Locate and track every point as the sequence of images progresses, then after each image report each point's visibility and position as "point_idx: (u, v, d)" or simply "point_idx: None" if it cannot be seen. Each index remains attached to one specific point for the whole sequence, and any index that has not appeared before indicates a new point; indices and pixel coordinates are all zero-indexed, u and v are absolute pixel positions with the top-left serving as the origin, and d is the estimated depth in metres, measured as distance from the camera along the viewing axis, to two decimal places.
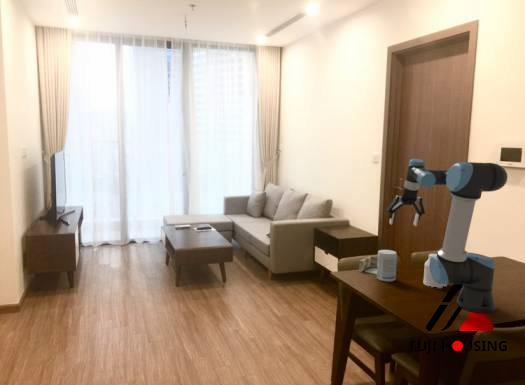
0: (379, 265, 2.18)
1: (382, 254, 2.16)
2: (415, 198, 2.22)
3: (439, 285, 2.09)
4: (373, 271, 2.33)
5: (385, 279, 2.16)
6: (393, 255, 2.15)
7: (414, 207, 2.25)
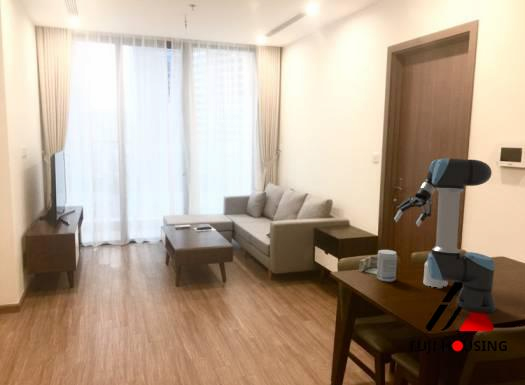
0: (379, 265, 2.18)
1: (382, 254, 2.16)
2: (424, 199, 2.26)
3: (439, 285, 2.09)
4: (373, 271, 2.33)
5: (385, 279, 2.16)
6: (393, 255, 2.15)
7: (422, 209, 2.24)
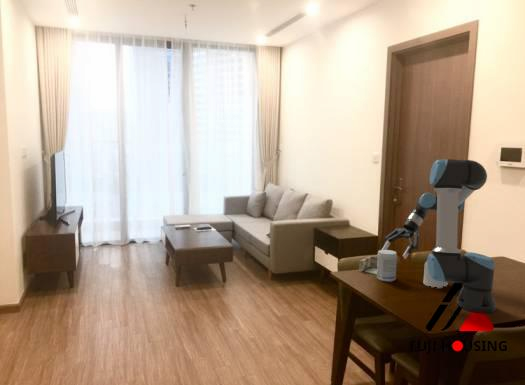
0: (379, 265, 2.18)
1: (382, 254, 2.16)
2: (412, 231, 2.26)
3: (439, 285, 2.09)
4: (373, 271, 2.33)
5: (385, 279, 2.16)
6: (393, 255, 2.15)
7: None
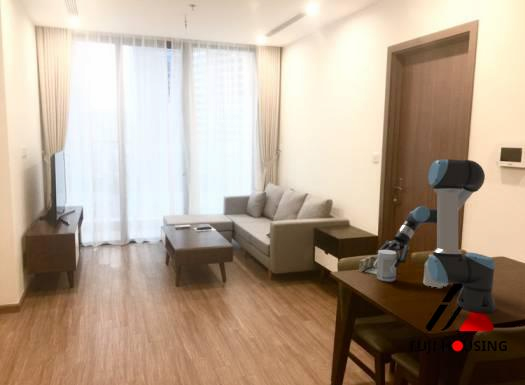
0: (379, 265, 2.18)
1: (382, 254, 2.16)
2: (403, 243, 2.21)
3: (439, 285, 2.09)
4: (373, 271, 2.33)
5: (385, 279, 2.16)
6: (393, 255, 2.15)
7: None
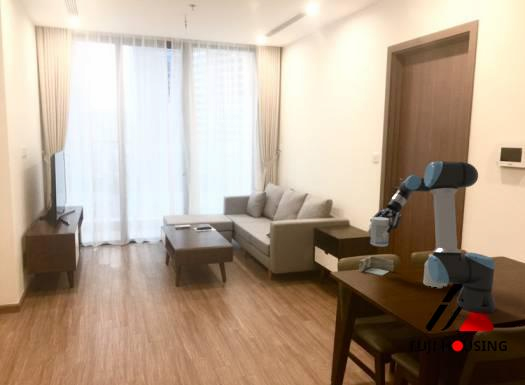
0: (372, 231, 2.29)
1: (375, 220, 2.27)
2: (395, 210, 2.31)
3: (439, 285, 2.09)
4: (373, 271, 2.33)
5: (378, 244, 2.27)
6: (386, 221, 2.26)
7: None
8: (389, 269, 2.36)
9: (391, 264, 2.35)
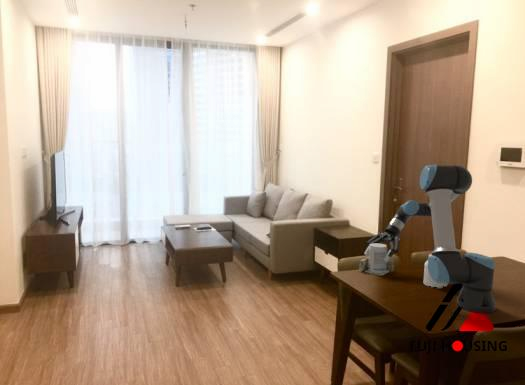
0: (370, 258, 2.31)
1: (373, 247, 2.29)
2: (393, 235, 2.33)
3: (439, 285, 2.09)
4: None
5: (376, 271, 2.29)
6: (383, 248, 2.28)
7: (391, 244, 2.31)
8: (389, 269, 2.36)
9: (391, 264, 2.35)
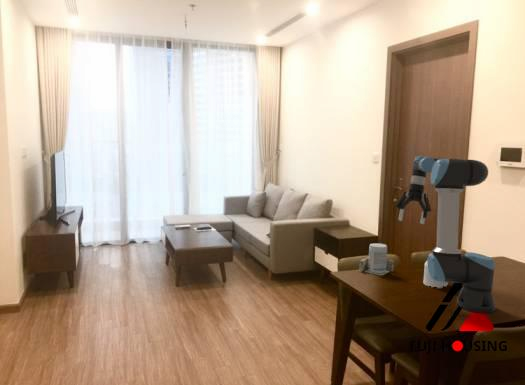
0: (370, 257, 2.31)
1: (373, 247, 2.29)
2: (419, 193, 2.31)
3: (439, 285, 2.09)
4: None
5: (376, 271, 2.29)
6: (383, 248, 2.28)
7: (421, 204, 2.30)
8: (389, 269, 2.36)
9: (391, 264, 2.35)
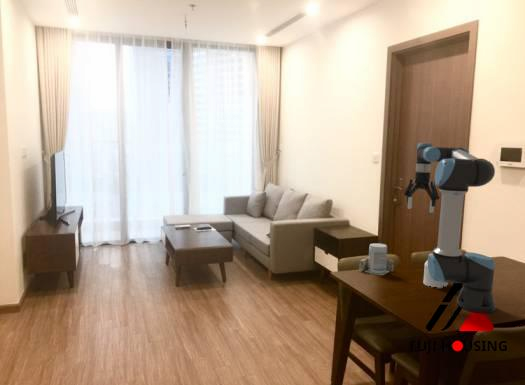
0: (370, 257, 2.31)
1: (373, 247, 2.29)
2: (426, 181, 2.26)
3: (439, 285, 2.09)
4: None
5: (376, 271, 2.29)
6: (383, 248, 2.28)
7: None
8: (389, 269, 2.36)
9: (391, 264, 2.35)
